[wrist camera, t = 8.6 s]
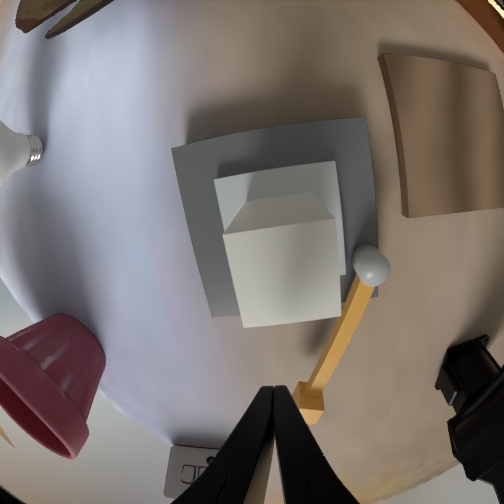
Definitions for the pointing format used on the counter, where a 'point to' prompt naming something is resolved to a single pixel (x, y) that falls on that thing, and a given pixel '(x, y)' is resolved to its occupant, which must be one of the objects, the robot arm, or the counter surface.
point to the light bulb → (17, 151)
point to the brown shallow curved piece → (48, 4)
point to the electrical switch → (185, 468)
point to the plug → (284, 242)
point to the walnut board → (445, 134)
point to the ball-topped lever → (342, 329)
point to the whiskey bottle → (488, 17)
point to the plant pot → (51, 381)
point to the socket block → (268, 157)
